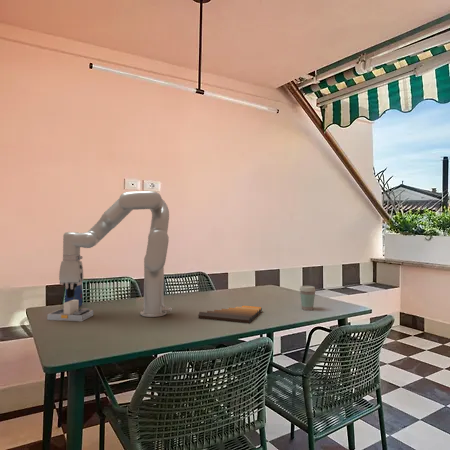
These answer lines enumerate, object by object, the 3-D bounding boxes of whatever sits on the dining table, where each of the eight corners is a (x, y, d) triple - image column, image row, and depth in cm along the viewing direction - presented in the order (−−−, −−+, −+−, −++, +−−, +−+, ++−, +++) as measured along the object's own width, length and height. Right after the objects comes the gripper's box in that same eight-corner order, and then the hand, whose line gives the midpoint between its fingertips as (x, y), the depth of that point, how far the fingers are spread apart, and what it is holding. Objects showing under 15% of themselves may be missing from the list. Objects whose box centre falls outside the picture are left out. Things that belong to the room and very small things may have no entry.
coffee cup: (317, 308, 205) (317, 286, 205) (313, 311, 198) (313, 288, 198) (301, 306, 209) (301, 285, 209) (297, 309, 201) (297, 287, 201)
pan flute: (198, 319, 180) (249, 324, 172) (198, 312, 180) (249, 317, 172) (216, 308, 204) (261, 312, 196) (216, 302, 204) (261, 306, 196)
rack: (93, 315, 183) (93, 308, 183) (81, 321, 172) (81, 313, 172) (60, 314, 185) (60, 306, 185) (46, 319, 174) (47, 312, 174)
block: (78, 314, 183) (78, 299, 183) (69, 318, 175) (69, 303, 175) (72, 314, 183) (72, 299, 183) (63, 318, 175) (63, 303, 175)
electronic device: (72, 309, 196) (73, 270, 196) (63, 308, 197) (64, 270, 197) (83, 305, 205) (83, 268, 205) (74, 305, 206) (74, 268, 206)
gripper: (90, 258, 182) (89, 296, 182) (60, 257, 183) (59, 295, 183) (82, 259, 174) (81, 299, 174) (51, 258, 176) (51, 298, 176)
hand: (70, 297), depth 179 cm, fingers closed
